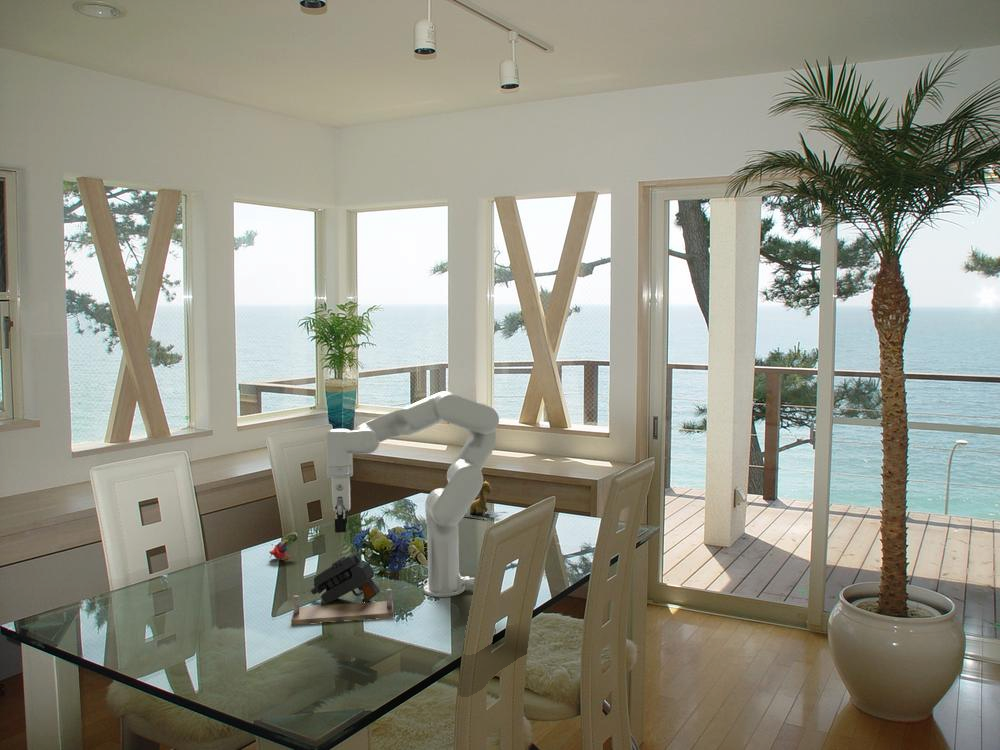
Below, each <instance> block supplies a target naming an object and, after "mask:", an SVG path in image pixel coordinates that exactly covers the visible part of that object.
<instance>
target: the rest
mask: <svg viewBox="0 0 1000 750" xmlns="http://www.w3.org/2000/svg"><path fill="white" fill-rule="evenodd" d="M385 592H386V593H385V594H386V595H385V597H386V598H385V599H386V600H385V601H384V600H382V601H372V602H369V601H368V602H366V603H363V602H357V603H355V602H354V603H341V604H327V605H315V606H314V605H313V606H301V607H300V595H297V594H296V595H292V605H293V606H292V608H293V610H292V612H293V613H292V616H291V620H290V621H291V624H290V625H291V626H297V625H296V624H305V625H311V624H310V623H318V624H321V623H320V622H330V621H344V620H358V619H372V620H377V619H376V618H386V619H393V618H394V616H395V615H394V614H395V613H394V604H393V601H394V600H393V589H392V588H387V589H386V590H385Z"/></svg>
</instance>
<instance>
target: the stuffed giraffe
mask: <svg viewBox="0 0 1000 750" xmlns="http://www.w3.org/2000/svg"><path fill="white" fill-rule="evenodd" d="M485 492H486V493H487V494H491V492H492V487H491V485H490V483H489V482H487V480H485V478H483V485H482V488H481V490H480V492H479V494H478V495H479V498H478V499H475V500H474V501H473V503H472V505H471V506H470V508H469V509H470V510H469V512H470V513H469V514H470V515H468V514H467V516H464V517H463V518H472V519H478V520H482V521H484V520H483V519H484V518H489V519H488V520H492V519H494V518H496V517H499V516H502V515H503V514H508V512H507V511H500V512H496V511H495V510H492V509H490V510H491V512H488V514H486V513H485V512H487V510H489V508H488V507H487V498H486V495H485ZM471 515H472V516H471ZM476 515H477V516H476ZM485 515H486V516H489V517H486V516H485Z"/></svg>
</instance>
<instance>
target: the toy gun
mask: <svg viewBox="0 0 1000 750" xmlns="http://www.w3.org/2000/svg"><path fill="white" fill-rule="evenodd" d="M374 576H375V571H374V569H373V568H372V566H371V564H370V562H369V561H365V560H363V559H362V558H361V556H360V554H359V552H357V551H353V552H352V553H350V554H348V555H346V556H345V555H344V556H343V557H341V558H339V559H337V560H336V561H334V562H333V563H332V564H331V566H330V565H329V567H326V568H325V569H324V570H322V571H321V572H320V573H318V574H317V575H316V576H315V577H314V578H313V586H314V587H312V588H311V589H310V592H311V594H312V595H316V594H319V595H320V594H321V593H322V592H323V593H322V594H321V596H320V599H321V600H322V601H323V603H325V604H330V603H331V602H333V601H335V600H337V599H339V598H341V597H342V596H344V595H347V594H348V593H350V592H351V593H352V594H353V596H355V597H359V596H361V595H362V594H363V598H362V599H361V603H364V602H365V603H368V602H369V601H370V600H372V599H373V598H374V597H375V596H376V595H378V594H379V592H380V589H379V587H378V586H377V584H376V583H375V582H374V580H373V578H374ZM355 590H358V591H359V593H357V592H356V591H355Z"/></svg>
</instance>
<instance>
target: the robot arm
mask: <svg viewBox="0 0 1000 750" xmlns="http://www.w3.org/2000/svg"><path fill="white" fill-rule="evenodd" d="M442 422H446V423H449V424H452V425H454V426H456V427H460V428H463V429H465V430H468V436H467V439H466V441H465V443H464V444H463V446H462V448H461V450H460V451H459V452H458V454H457V455H456V457H455V459H454V460H453V462H452V463H451V464H450V465H449V467H448V468H447V471H446V479H447V485H446V486H445V487H440V488H435V489H433V490H431V492H429V494H428V495H427V497H426V500H425V504H424V509H425V519H426V520H425V521H426V533H427V534H426V535H427V536H426V537H427V571H428V572H427V575H428V577H427V579H428V583H427V584H425V585H424V586H423V592H424V594H425V595H427V596H430V597H435V598H450V597H455V596H458V595H460V594H462V593H463V592H464V591H465V587H466V586H465V585H475V584H474V582H475V580H476V579H475V577H470V576H462V575H461V573H460V555H459V554H460V553H459V549H460V548H459V546H460V545H459V541H460V540H459V538H460V537H459V523H460V521H461V520H462V519H463V518H465V517H464V515H466V514H467V513H468V512H467V511H468V509H470V506H471V505H472V503H473V501H475V500H476V498H477V497H478V495H479V492H480V490H481V488H482V485H483V479H484V476H483V473H482V470H483V468H484V466H485V464H486V463H487V461H488V459H490V457H491V454H492V453H493V450H494V448H495V444H496V437H497V436H496V435H497V431H496V430H497V428H498V426H499V423H500V417H499V414H498V412H497V411H496V410H495V408H493V407H491V406H489V405H487V404H485V403H482V402H476V401H474V400H471V399H469V398H468V399H467V398H466V397H462V396H461V395H458V394H456V393H454V392H452V391H447V390H444V391H439V392H437V393H435V394H432V395H430V396H428V397H425V398H422V399H421V400H418V401H416V402H414V403H412V404H409V405H406V406H405V407H402V408H399V409H396V410H394V411H391V412H389V413H386V414H383V415H381V416H377V417H375V418H373V419H371V420H369V421H366V422H364V423H362V424H359V425H358V426H357V427H356V428H354V429H353V430H351V429H348V428H333V429H329V430H328V431H327V432H326V434H325V435H326V436H325V438H326V439H325V441H326V443H325V444H326V476H327V477H328V478H330V479H331V480H330V481H331V500H332V510H333V511H334V512H335V513H334V514H335V518H334V532H335V533H336V534H337V533H346V532H347V524H348V512H349V511H350V510H351V479H350V478H352V477H353V476H354V464H353V463H354V461H353V460H354V459H353V458H354V456H353V455H354V454H358V455H370V454H372V453H374V452H376V451H377V450H378V448H379V446H380V444H381V443H382V442H384V441H386V440H389V439H391V438H395V437H399V436H410V435H414V434H418V433H420V432H422V431H425V429H428V428H430V427H432V426H435V425H436V424H437V425H438V424H441V423H442ZM327 477H326V478H327ZM475 583H476V582H475Z"/></svg>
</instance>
